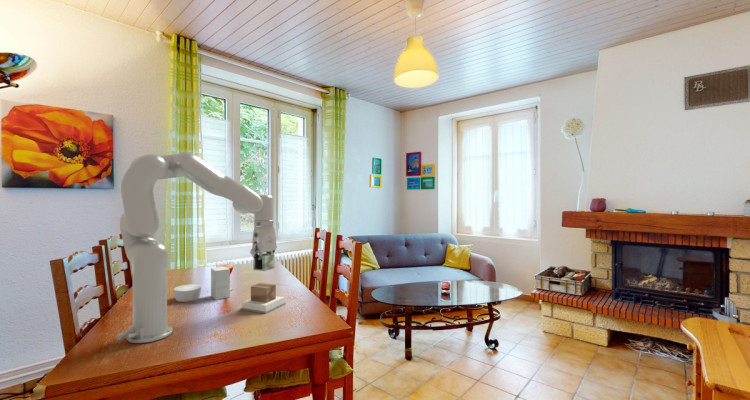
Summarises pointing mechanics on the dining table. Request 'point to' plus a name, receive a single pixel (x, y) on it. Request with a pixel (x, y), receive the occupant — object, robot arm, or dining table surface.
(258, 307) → the plinth
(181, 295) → the ramekin
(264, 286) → the walnut brick
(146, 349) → the dining table surface
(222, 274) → the small box
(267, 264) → the sage cube
